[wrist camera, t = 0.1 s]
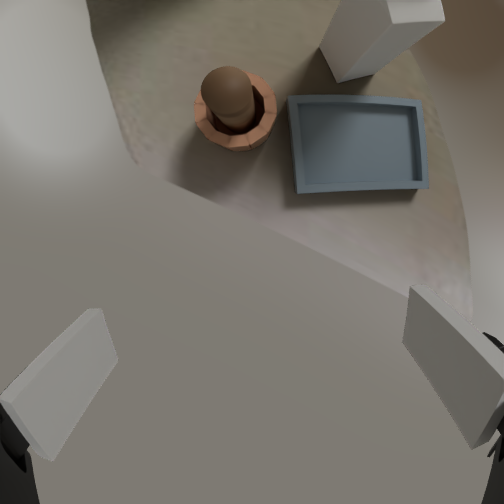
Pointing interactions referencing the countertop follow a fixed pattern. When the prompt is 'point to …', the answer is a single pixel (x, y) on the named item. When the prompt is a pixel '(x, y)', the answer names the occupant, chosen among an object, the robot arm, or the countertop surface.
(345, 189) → the tray
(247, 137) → the cup
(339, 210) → the countertop surface
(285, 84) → the countertop surface
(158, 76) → the countertop surface
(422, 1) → the milk
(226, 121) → the baguette
